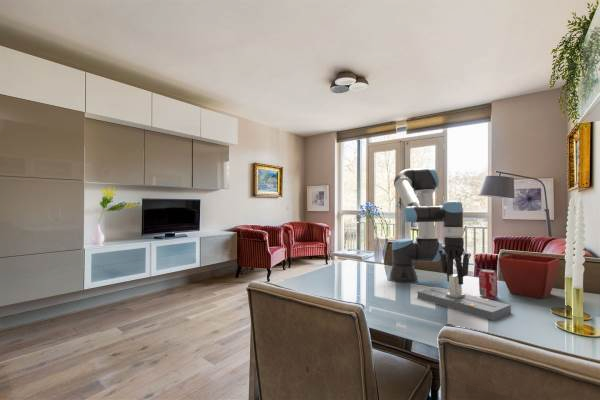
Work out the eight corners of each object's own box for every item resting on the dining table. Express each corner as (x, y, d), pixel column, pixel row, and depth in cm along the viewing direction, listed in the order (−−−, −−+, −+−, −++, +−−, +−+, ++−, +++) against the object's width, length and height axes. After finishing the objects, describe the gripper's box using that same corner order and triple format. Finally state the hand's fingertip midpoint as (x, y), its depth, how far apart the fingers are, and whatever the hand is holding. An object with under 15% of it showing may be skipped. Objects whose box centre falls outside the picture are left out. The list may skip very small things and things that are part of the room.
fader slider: (454, 293, 128) (453, 273, 129) (465, 296, 124) (464, 275, 124) (446, 295, 125) (445, 275, 125) (457, 298, 121) (456, 277, 121)
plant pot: (513, 285, 150) (511, 253, 150) (561, 294, 135) (559, 257, 135) (498, 292, 139) (497, 257, 139) (549, 302, 123) (548, 263, 124)
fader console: (436, 292, 140) (435, 286, 140) (510, 312, 113) (510, 304, 113) (417, 297, 133) (417, 290, 133) (492, 320, 105) (492, 311, 106)
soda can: (499, 296, 133) (498, 270, 133) (496, 300, 128) (495, 273, 128) (481, 293, 138) (480, 268, 138) (477, 297, 133) (477, 270, 133)
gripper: (432, 235, 130) (433, 287, 129) (466, 238, 117) (468, 296, 116) (442, 234, 134) (443, 285, 133) (476, 237, 120) (478, 293, 120)
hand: (455, 290), depth 125 cm, fingers closed on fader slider, 2 cm apart
